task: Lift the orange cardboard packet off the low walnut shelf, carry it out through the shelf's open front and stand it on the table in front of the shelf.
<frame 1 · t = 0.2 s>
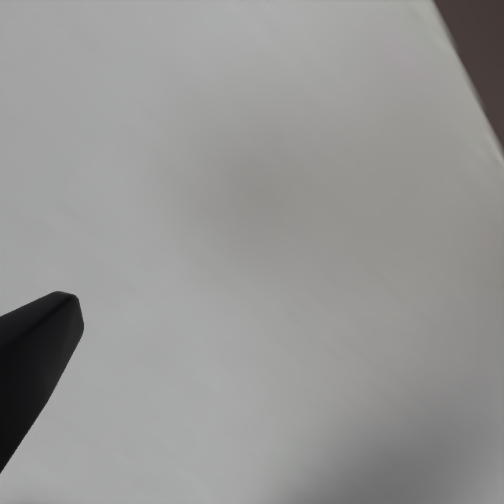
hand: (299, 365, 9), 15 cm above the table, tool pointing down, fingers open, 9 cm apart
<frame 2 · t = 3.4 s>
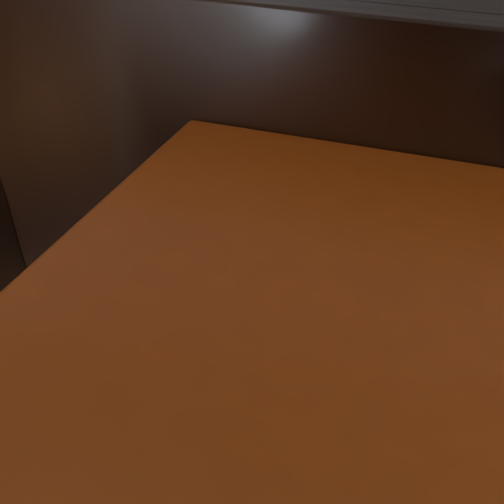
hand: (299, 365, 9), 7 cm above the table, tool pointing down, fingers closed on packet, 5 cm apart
shelf: (328, 186, 14), on the table
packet: (314, 294, 10), point 5 cm above the table, touching gripper, shelf
when the fingers open (2 cm above the table, at t = 9.0 s): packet stays where it is, on the table.
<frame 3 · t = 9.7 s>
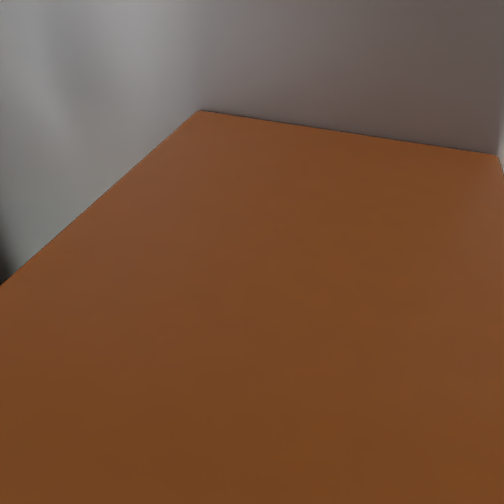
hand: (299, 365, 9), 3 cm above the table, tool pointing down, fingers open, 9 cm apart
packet: (315, 279, 11), on the table
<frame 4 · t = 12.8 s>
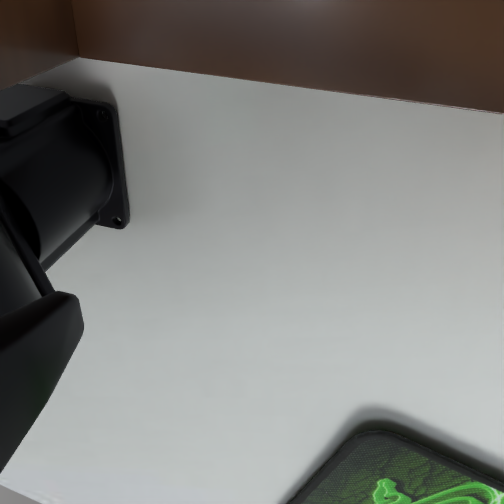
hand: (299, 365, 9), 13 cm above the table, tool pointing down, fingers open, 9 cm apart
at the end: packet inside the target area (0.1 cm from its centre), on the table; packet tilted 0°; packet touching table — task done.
